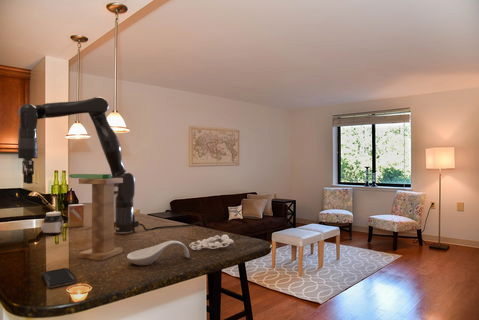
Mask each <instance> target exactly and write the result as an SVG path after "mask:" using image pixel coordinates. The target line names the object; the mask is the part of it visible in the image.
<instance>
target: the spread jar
mask: <svg viewBox="0 0 479 320" xmlns="http://www.w3.org/2000/svg"><path fill="white" fill-rule="evenodd" d="M61 213H62V212H61V211H50V212H49V211H48V212H46V213H45V217H44V219H43V221H42V225H41V227H40V230H41V231H42V232H43V234H44V235H45V236H50V237H51V236H58V235H61V234H62V232H63V231H64V217H63V216H62V215H61Z"/></svg>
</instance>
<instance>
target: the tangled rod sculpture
mask: <svg viewBox="0 0 479 320" xmlns="http://www.w3.org/2000/svg"><path fill="white" fill-rule="evenodd" d="M218 240H220V241H221V242H220V241H218ZM233 244H234V240H233V239H232V238H230V237H229V235H227V234H222V235H221V236H220V235H218V234H216V235H214V236H211V237H208V238H207V239H206V238H204V239H202V240H200V239H198V240H197V241H194V242H193V241H192V242H191V243H190V244H189V245H188V247H189V248H190V249H191V250H193V251H196V250H197V251H199V252H200V251H201V250H202V249H206V250H207V249H210V250H216V249H219V248H226V247H229V246H231V245H233Z"/></svg>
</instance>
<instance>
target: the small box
mask: <svg viewBox="0 0 479 320" xmlns="http://www.w3.org/2000/svg"><path fill="white" fill-rule="evenodd" d="M67 226H68V228H77V227H85V204H83V203H76V204H75V203H73V204H68V205H67Z"/></svg>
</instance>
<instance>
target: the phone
mask: <svg viewBox="0 0 479 320" xmlns="http://www.w3.org/2000/svg"><path fill="white" fill-rule="evenodd" d="M42 278H43V280H44V281H45V284H46V286H47V288H49V289H54V288H55V289H56V288H59V287H63V286H69V285H73V284H76V283H77V278H76V276H75V275H74V274H73V272H72V271H71V270H70V268H69V267H62V268H58V269H51V270H47V271H43V272H42Z"/></svg>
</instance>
